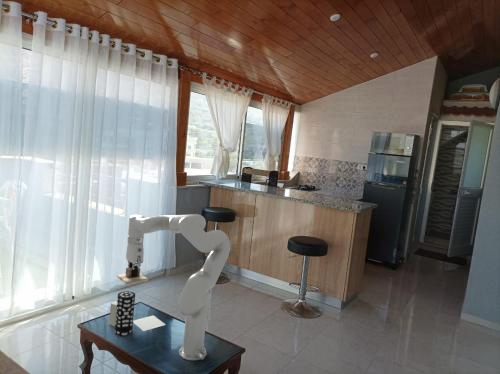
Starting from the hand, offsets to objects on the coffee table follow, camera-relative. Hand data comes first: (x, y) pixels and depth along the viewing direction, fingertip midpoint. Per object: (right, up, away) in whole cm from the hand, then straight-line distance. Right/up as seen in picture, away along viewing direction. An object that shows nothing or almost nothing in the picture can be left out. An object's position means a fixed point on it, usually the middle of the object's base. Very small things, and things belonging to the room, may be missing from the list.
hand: (132, 275), depth 179 cm
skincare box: (-11, -28, +8) cm, 31 cm away
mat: (+5, -29, +12) cm, 32 cm away
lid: (0, -2, 0) cm, 2 cm away
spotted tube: (-5, -29, 0) cm, 30 cm away
